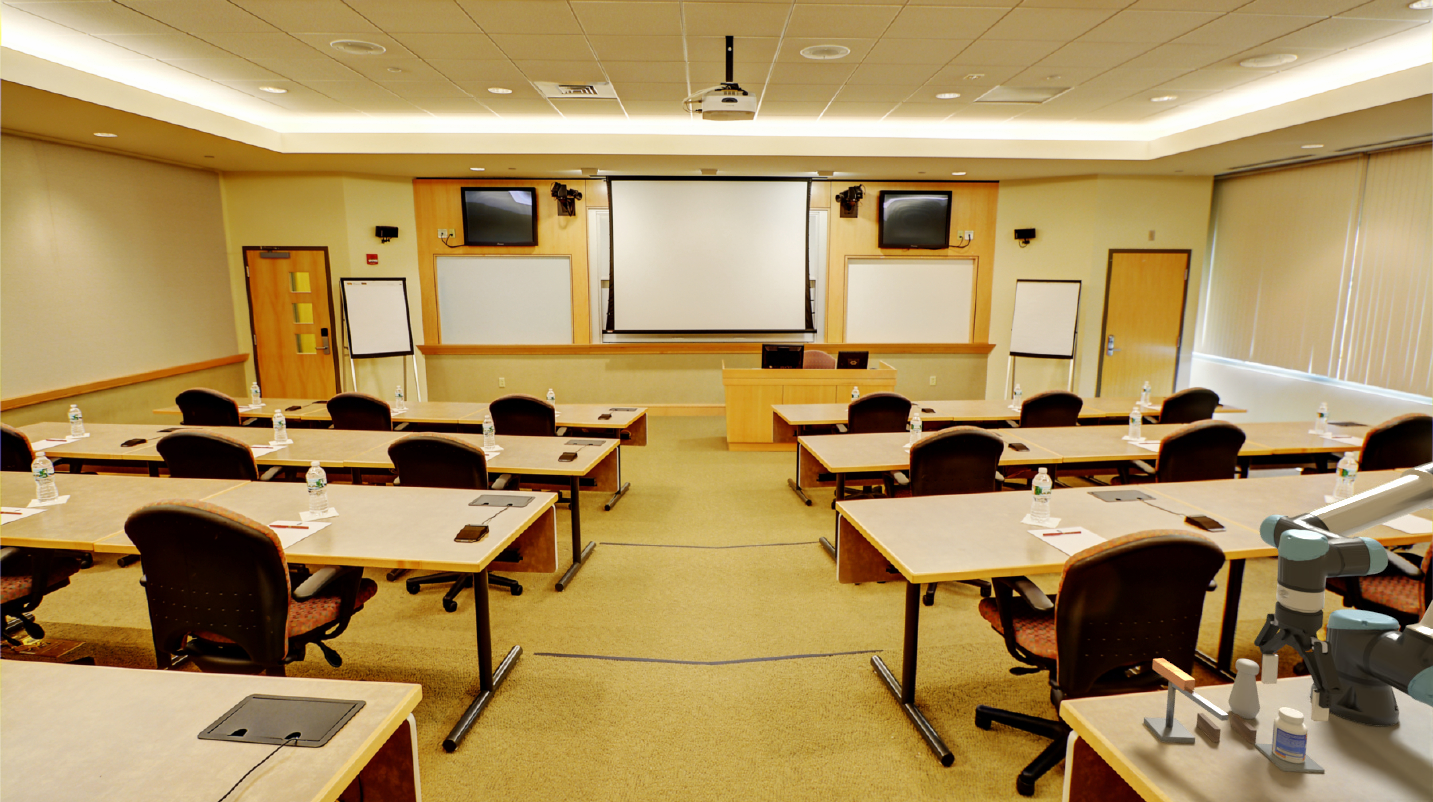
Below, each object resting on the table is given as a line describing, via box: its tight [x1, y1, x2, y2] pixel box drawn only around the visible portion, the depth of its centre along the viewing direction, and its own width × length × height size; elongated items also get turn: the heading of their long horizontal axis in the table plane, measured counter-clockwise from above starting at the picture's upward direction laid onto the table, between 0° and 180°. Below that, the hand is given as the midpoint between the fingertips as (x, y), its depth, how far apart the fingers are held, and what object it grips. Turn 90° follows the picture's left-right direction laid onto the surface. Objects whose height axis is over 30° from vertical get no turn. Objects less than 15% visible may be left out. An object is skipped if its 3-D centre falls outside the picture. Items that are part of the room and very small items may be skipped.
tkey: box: [1152, 657, 1229, 728], centre depth 145 cm, size 18×2×14 cm, turn 7°
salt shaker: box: [1227, 658, 1261, 720], centre depth 156 cm, size 6×6×13 cm
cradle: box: [1196, 712, 1257, 744], centre depth 150 cm, size 9×6×3 cm
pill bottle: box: [1271, 706, 1308, 763], centre depth 141 cm, size 5×5×10 cm
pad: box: [1254, 743, 1326, 774], centre depth 141 cm, size 8×8×1 cm
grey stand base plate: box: [1143, 717, 1196, 744], centre depth 151 cm, size 7×7×1 cm
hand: (1293, 700), depth 143 cm, fingers open, 13 cm apart
